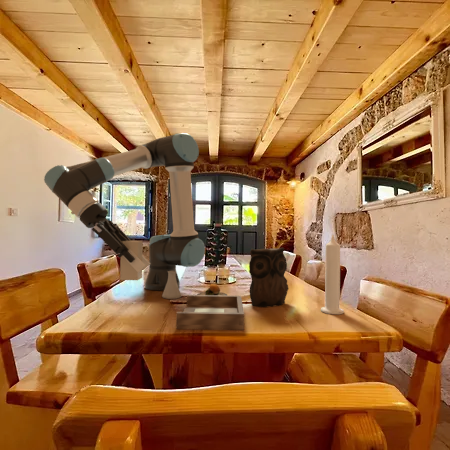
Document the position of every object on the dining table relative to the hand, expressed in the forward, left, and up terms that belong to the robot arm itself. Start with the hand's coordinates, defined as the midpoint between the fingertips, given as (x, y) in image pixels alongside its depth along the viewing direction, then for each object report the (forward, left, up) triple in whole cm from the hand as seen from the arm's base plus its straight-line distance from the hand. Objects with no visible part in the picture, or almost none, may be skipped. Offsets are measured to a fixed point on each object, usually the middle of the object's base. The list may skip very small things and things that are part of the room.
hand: (144, 267), depth 91 cm
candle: (+22, +55, -15) cm, 61 cm away
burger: (-13, +30, -16) cm, 36 cm away
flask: (-23, +18, -15) cm, 33 cm away
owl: (+2, +44, -15) cm, 47 cm away
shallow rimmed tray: (+8, +18, -15) cm, 25 cm away
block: (-2, -3, -3) cm, 5 cm away
